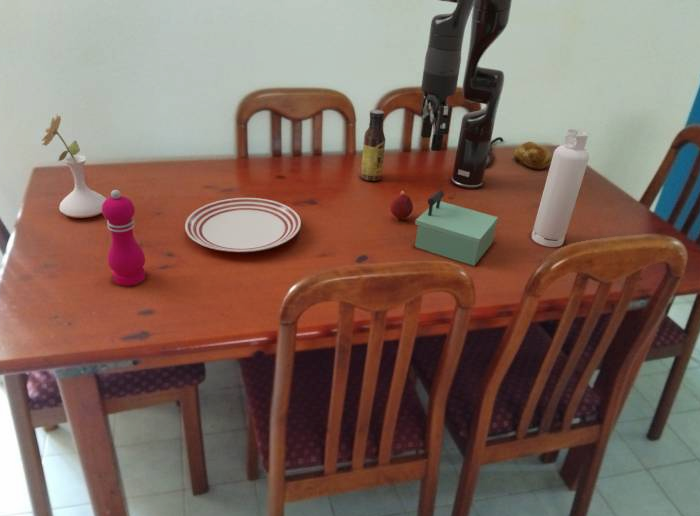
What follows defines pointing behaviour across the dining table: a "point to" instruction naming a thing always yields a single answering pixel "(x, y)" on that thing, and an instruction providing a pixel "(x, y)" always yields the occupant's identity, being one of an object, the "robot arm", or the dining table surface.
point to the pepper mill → (123, 241)
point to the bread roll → (533, 155)
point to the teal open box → (453, 245)
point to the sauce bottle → (373, 148)
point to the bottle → (561, 190)
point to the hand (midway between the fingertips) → (430, 143)
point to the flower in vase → (81, 198)
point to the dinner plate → (243, 225)
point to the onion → (401, 206)
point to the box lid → (455, 220)
